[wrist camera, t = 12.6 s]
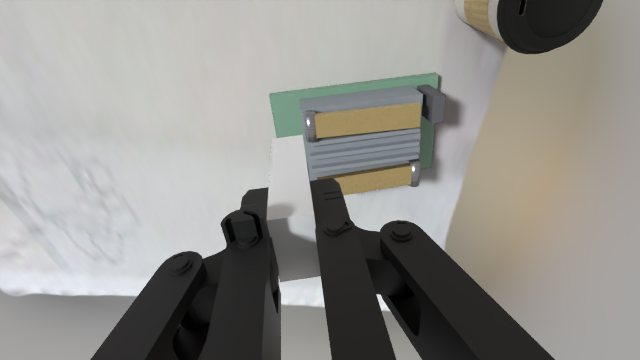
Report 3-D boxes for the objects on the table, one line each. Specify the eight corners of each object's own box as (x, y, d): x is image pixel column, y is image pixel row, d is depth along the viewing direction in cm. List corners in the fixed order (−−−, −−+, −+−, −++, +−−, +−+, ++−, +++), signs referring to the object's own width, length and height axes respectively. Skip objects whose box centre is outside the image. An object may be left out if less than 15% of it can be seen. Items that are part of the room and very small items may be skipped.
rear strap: (417, 157, 47) (422, 162, 46) (416, 180, 49) (421, 185, 48) (316, 174, 46) (317, 179, 45) (318, 196, 48) (320, 202, 47)
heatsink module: (285, 183, 54) (286, 207, 48) (269, 93, 47) (267, 108, 41) (428, 164, 55) (446, 185, 49) (435, 72, 48) (457, 84, 42)
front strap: (306, 138, 44) (306, 143, 43) (302, 110, 42) (302, 115, 41) (416, 126, 44) (420, 130, 43) (418, 98, 42) (422, 102, 41)
